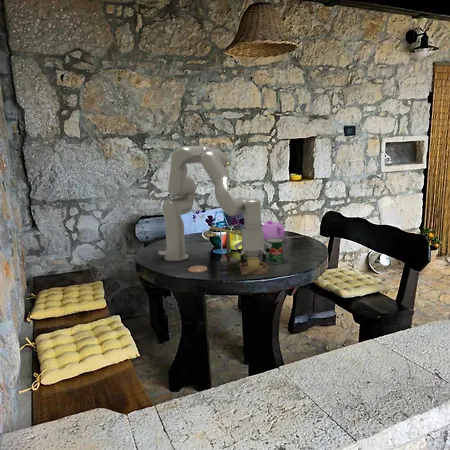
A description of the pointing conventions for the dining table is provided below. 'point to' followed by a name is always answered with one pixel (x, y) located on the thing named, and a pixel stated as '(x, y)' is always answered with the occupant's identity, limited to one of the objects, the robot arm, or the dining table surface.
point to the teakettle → (273, 230)
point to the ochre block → (253, 263)
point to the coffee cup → (252, 253)
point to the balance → (228, 259)
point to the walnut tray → (261, 270)
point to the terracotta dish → (197, 269)
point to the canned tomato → (275, 251)
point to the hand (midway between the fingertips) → (253, 262)
